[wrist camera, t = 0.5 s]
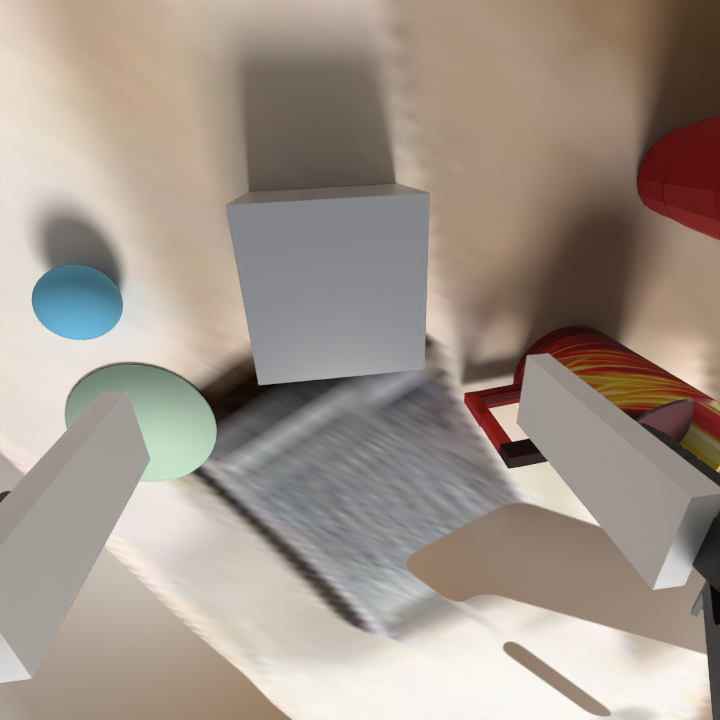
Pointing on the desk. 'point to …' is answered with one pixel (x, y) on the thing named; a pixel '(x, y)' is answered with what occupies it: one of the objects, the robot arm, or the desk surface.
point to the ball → (77, 302)
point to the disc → (156, 416)
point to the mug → (609, 395)
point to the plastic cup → (685, 176)
